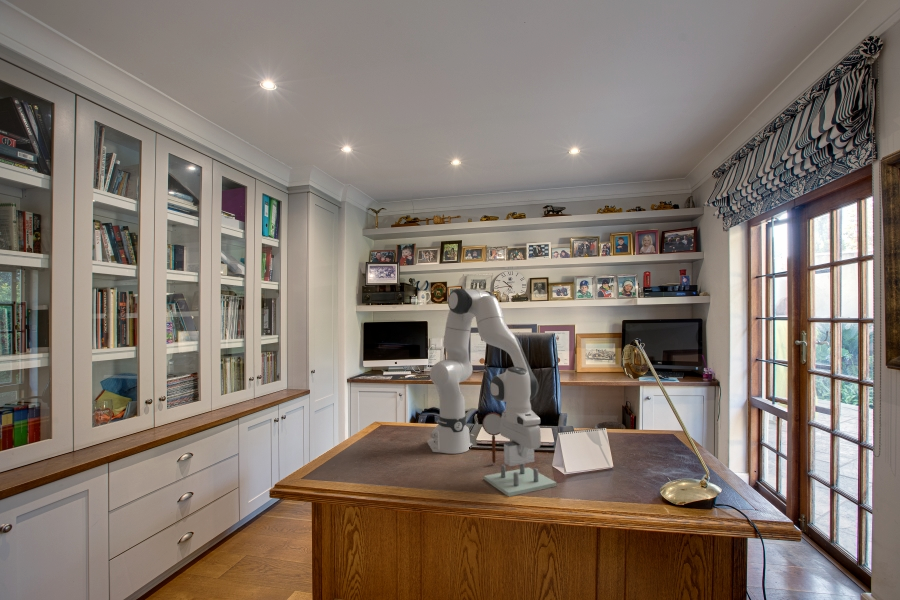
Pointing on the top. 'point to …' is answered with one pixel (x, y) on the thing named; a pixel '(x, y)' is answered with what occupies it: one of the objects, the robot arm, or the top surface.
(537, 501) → the top surface
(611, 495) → the top surface
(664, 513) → the top surface
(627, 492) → the top surface
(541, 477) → the pin tray
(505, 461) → the block
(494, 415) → the magnifying glass
